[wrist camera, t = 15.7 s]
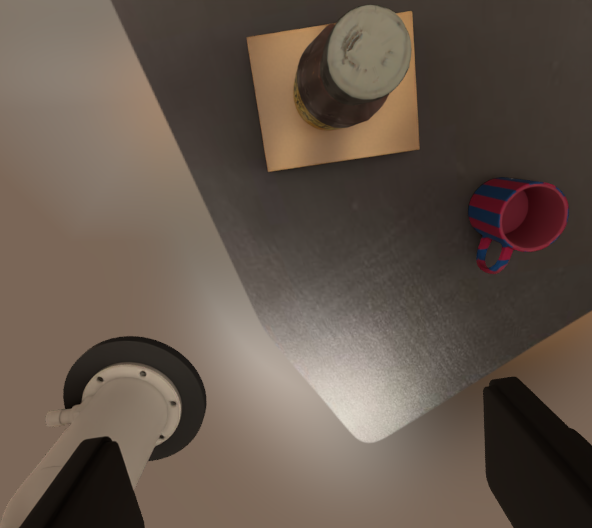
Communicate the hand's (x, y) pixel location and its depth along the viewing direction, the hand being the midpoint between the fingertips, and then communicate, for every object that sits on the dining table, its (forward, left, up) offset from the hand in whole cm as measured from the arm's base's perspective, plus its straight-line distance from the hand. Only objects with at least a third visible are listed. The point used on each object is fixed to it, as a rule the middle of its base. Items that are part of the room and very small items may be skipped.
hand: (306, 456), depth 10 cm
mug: (+21, -3, -36) cm, 42 cm away
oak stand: (+6, +12, -36) cm, 38 cm away
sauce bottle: (+5, +12, -32) cm, 34 cm away
